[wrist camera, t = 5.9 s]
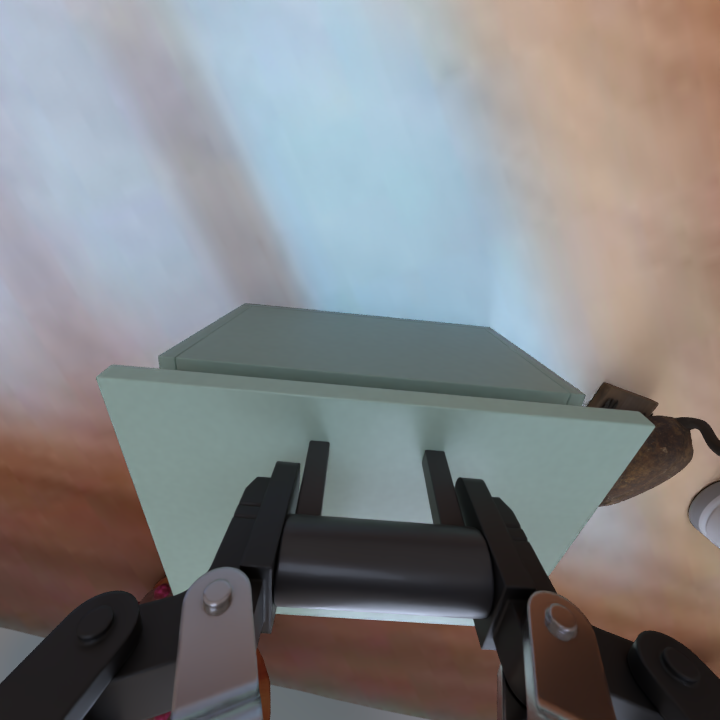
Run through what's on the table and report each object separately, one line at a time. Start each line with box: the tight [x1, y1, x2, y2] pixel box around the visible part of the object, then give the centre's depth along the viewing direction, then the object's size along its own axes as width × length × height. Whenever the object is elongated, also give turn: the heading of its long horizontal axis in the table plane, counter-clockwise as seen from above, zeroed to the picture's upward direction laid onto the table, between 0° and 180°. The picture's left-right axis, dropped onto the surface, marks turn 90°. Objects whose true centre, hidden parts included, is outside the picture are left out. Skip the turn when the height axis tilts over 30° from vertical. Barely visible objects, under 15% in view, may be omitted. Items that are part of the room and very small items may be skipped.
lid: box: [96, 365, 655, 626], centre depth 13 cm, size 15×18×6 cm
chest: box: [158, 303, 585, 406], centre depth 22 cm, size 14×18×11 cm
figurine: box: [587, 383, 720, 507], centre depth 24 cm, size 14×4×9 cm, turn 159°
